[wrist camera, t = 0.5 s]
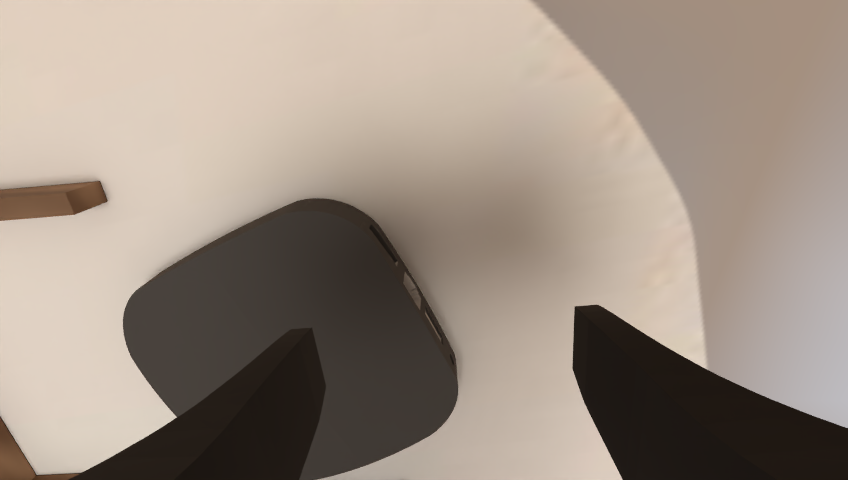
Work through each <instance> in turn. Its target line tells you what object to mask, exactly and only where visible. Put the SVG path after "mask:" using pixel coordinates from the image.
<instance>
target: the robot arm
mask: <svg viewBox="0 0 848 480" xmlns="http://www.w3.org/2000/svg"><path fill="white" fill-rule="evenodd" d="M573 371H574V374H575V377H576V380H577V383H578V386H579V389H580V392H581V394H582V397H583V400H584V403H585V405H586V407H587V409H588V411H589V413H590V415H591V417H592V419H593V421H594V423H595V425H596V427H597V429H598V431H599V433H600V435H601V437H602V439H603V441H604V443H605V445H606V447H607V449H608V451H609V453H610V455H611V457H612V459H613V461H614V463H615V465H616V467H617V469H618V471H619V473H620V475H621V477H622V479H623V480H848V428H845V427H842V426H839V425H836V424H834V423H831V422H828V421H826V420H823V419H820V418H817V417H814V416H812V415H809V414H807V413H804V412H801V411H799V410H796V409H794V408H791V407H789V406H786V405H784V404H781V403H779V402H776V401H774V400H771V399H769V398H767V397H764V396H762V395H759V394H757V393H755V392H753V391H750V390H748V389H746V388H744V387H742V386H740V385H737V384H735V383H733V382H731V381H729V380H727V379H725V378H722V377H720V376H718V375H716V374H714V373H712V372H711V371H709V370H707V369H705V368H703V367H701V366H699V365H697V364H695V363H694V362H692V361H690V360H688V359H686V358H684V357H683V356H681V355H679V354H677V353H676V352H674V351H672V350H670V349H669V348H667V347H665V346H664V345H662V344H660V343H659V342H657V341H655V340H654V339H652V338H650V337H649V336H647V335H646V334H644V333H642V332H641V331H639V330H638V329H636V328H635V327H633V326H631V325H630V324H628V323H627V322H625V321H624V320H622V319H621V318H619V317H617V316H616V315H614V314H613V313H611V312H610V311H608V310H606V309H605V308H603V307H601V306H599V305H588V306H576V307H575V314H574V343H573ZM325 390H326V383H325V379H324V375H323V371H322V366H321V362H320V358H319V354H318V350H317V346H316V342H315V337H314V333H313V329H312V328H300V329H291V330H289V331H288V332H286V333H285V334H284V335H282V336H281V337H280V338H279V339H277V340H276V341H275V342H274V343H273V344H271V345H270V346H269V347H268V348H267V349H265V350H264V351H263V352H262V353H261V354H260V355H258V356H257V357H256V358H255V359H254V360H252V361H251V362H250V363H249V364H248V365H246V366H245V367H244V368H243V369H242V370H240V371H239V372H238V373H237V374H235V375H234V376H233V377H232V378H230V379H229V380H228V381H226V382H225V383H224V384H223V385H221V386H220V387H219V388H217V389H216V390H215V391H213V392H212V393H211V394H210V395H208V396H207V397H206V398H204V399H203V400H202V401H200V402H199V403H198V404H196V405H195V406H193V407H192V408H190V409H189V410H188V411H186V412H185V413H183V414H182V415H180V416H179V417H177V418H176V419H174V420H173V421H171V422H170V423H168V424H166V425H165V426H163V427H162V428H160V429H159V430H157V431H155V432H154V433H152V434H150V435H149V436H147V437H145V438H144V439H142V440H140V441H138V442H137V443H135V444H133V445H131V446H130V447H128V448H126V449H125V450H123V451H121V452H119V453H118V454H116V455H114V456H113V457H111V458H109V459H107V460H105V461H103V462H101V463H100V464H98V465H96V466H94V467H92V468H90V469H88V470H86V471H84V472H82V473H80V474H78V475H76V476H74V477H72V478H70V479H68V480H299V479H300V476H301V473H302V470H303V467H304V464H305V461H306V458H307V456H308V453H309V450H310V447H311V444H312V441H313V438H314V435H315V432H316V429H317V426H318V423H319V420H320V415H321V411H322V406H323V401H324V396H325Z"/></svg>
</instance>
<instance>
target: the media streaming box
mask: <svg viewBox="0 0 848 480" xmlns="http://www.w3.org/2000/svg"><path fill="white" fill-rule="evenodd" d="M430 314H431V315H430ZM431 316H432V317H431ZM435 323H436V324H435ZM436 325H437V326H436ZM300 328H312V329H313V333H314V337H315V342H316V346H317V350H318V354H319V358H320V362H321V366H322V371H323V375H324V379H325V383H326V390H325V396H324V401H323V406H322V411H321V415H320V420H319V423H318V426H317V429H316V432H315V435H314V438H313V441H312V444H311V447H310V450H309V453H308V456H307V458H306V461H305V464H304V467H303V470H302V473H301V476H300V479H299V480H316V479H321V478H325V477H330V476H334V475H337V474H341V473H344V472H348V471H351V470H354V469H357V468H360V467H363V466H365V465H368V464H371V463H373V462H376V461H378V460H381V459H383V458H386V457H388V456H390V455H392V454H395V453H397V452H399V451H401V450H403V449H405V448H407V447H409V446H411V445H413V444H415V443H417V442H419V441H421V440H423V439H424V438H426V437H428V436H430V435H431V434H433V433H434V432H435V431H437V430H438V429H439V428H440V427H441V426H442V425H443V424H444V423H445V421H446V420H447V419H448V418H449V416H450V414H451V413H452V411H453V409H454V407H455V404H456V401H457V396H458V382H457V369H456V359H455V355H454V352H453V350H452V348H451V346H450V344H449V342H448V340H447V338H446V336H445V334H444V333H443V331H442V329H441V327H440V325H439V323H438V321H437V319H436V318H435V316H434V314H433V312H432V310H431V309H430V307H429V305H428V303H427V301H426V300H425V298H424V296H423V294H422V293H421V291H420V289H419V288H418V286H417V284H416V283H415V281H414V279H413V278H412V276H411V274H410V273H409V271H408V270H407V268H406V266H405V265H404V263H403V262H402V260H401V258H400V257H399V255H398V254H397V252H396V251H395V249H394V248H393V246H392V245H391V243H390V242H389V240H388V238H387V237H386V236H385V234H384V233H383V231H382V230H381V228H380V227H379V225H378V224H377V223H376V222H375V221H374V220H372V219H371V218H370V217H369V216H367V215H366V214H365V213H363V212H362V211H360V210H358V209H356V208H354V207H352V206H350V205H348V204H345V203H342V202H338V201H335V200H329V199H305V200H300V201H296V202H294V203H292V204H290V205H287V206H285V207H283V208H281V209H278V210H276V211H274V212H272V213H269V214H267V215H265V216H263V217H261V218H259V219H257V220H255V221H253V222H251V223H248V224H246V225H244V226H242V227H240V228H238V229H236V230H234V231H232V232H231V233H229V234H227V235H225V236H223V237H221V238H219V239H217V240H215V241H213V242H212V243H210V244H208V245H206V246H204V247H203V248H201V249H199V250H197V251H195V252H194V253H192V254H190V255H189V256H187V257H185V258H183V259H182V260H180V261H178V262H177V263H175V264H173V265H172V266H170V267H169V268H167V269H165V270H164V271H162V272H161V273H159V274H158V275H157V276H155V277H154V278H153V279H151V280H150V281H149V282H147V283H146V284H144V285H143V286H142V287H140V288H139V289H138V290H136V291H135V292H134V293H133V294H132V296H131V297H130V299H129V301H128V303H127V305H126V308H125V311H124V317H123V330H124V337H125V341H126V345H127V348H128V350H129V353H130V355H131V357H132V359H133V360H134V362H135V364H136V365H137V367H138V368H139V370H140V371H141V373H142V374H143V375H144V377H145V378H146V380H147V381H148V382H149V384H150V385H151V386H152V388H153V389H154V390H155V392H156V393H157V394H158V395H159V397H160V398H161V399H162V400H163V402H164V403H165V404H166V405H167V406H168V408H169V409H170V410H171V411H172V412H173V413H174V414H175V415H176V417H179V416H180V415H182V414H183V413H185V412H186V411H188V410H189V409H190V408H192V407H193V406H195V405H196V404H198V403H199V402H200V401H202V400H203V399H204V398H206V397H207V396H208V395H210V394H211V393H212V392H213V391H215V390H216V389H217V388H219V387H220V386H221V385H223V384H224V383H225V382H226V381H228V380H229V379H230V378H232V377H233V376H234V375H235V374H237V373H238V372H239V371H240V370H242V369H243V368H244V367H245V366H246V365H248V364H249V363H250V362H251V361H252V360H254V359H255V358H256V357H257V356H258V355H260V354H261V353H262V352H263V351H264V350H265V349H267V348H268V347H269V346H270V345H271V344H273V343H274V342H275V341H276V340H277V339H279V338H280V337H281V336H282V335H284V334H285V333H286V332H288V331H289V330H291V329H300Z"/></svg>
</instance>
